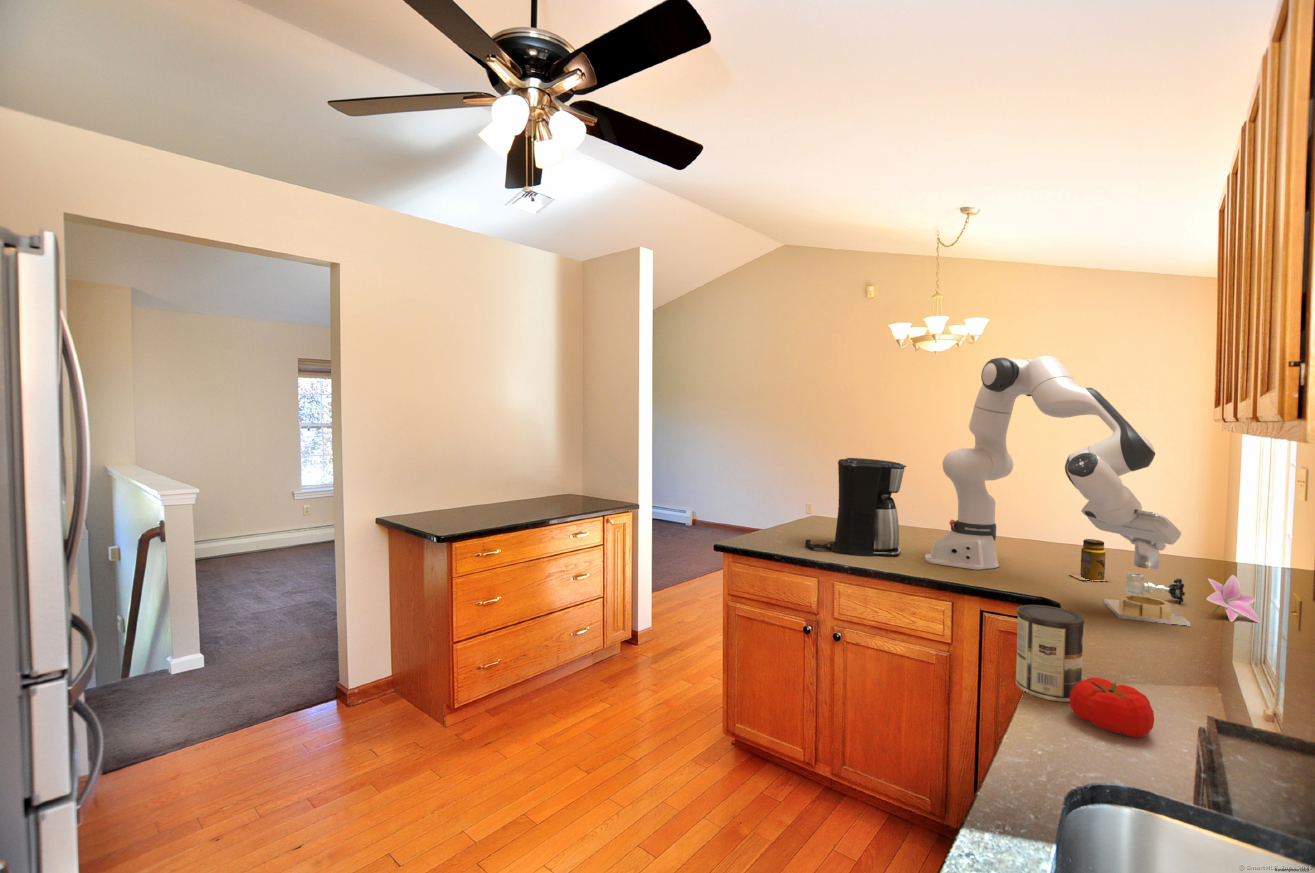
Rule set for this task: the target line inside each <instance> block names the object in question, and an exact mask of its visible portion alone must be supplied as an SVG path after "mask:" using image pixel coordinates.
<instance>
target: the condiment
mask: <svg viewBox="0 0 1315 873" xmlns="http://www.w3.org/2000/svg"><path fill="white" fill-rule="evenodd" d="M1082 542H1083V543H1082V544H1083V545H1082V548H1080V549H1081V553H1080V554H1081V556H1080V574H1079V575H1081V577H1083V578H1085V579H1089V580H1104V579H1105V572H1106V571H1105V569H1106V568H1105V567H1106V550H1105V542H1104V541H1102V540H1099V539H1094V538H1093V539H1092V538H1085V539H1083V540H1082ZM1071 574H1072V573H1071ZM1071 574H1067V575H1068V576H1069V575H1071Z"/></svg>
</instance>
